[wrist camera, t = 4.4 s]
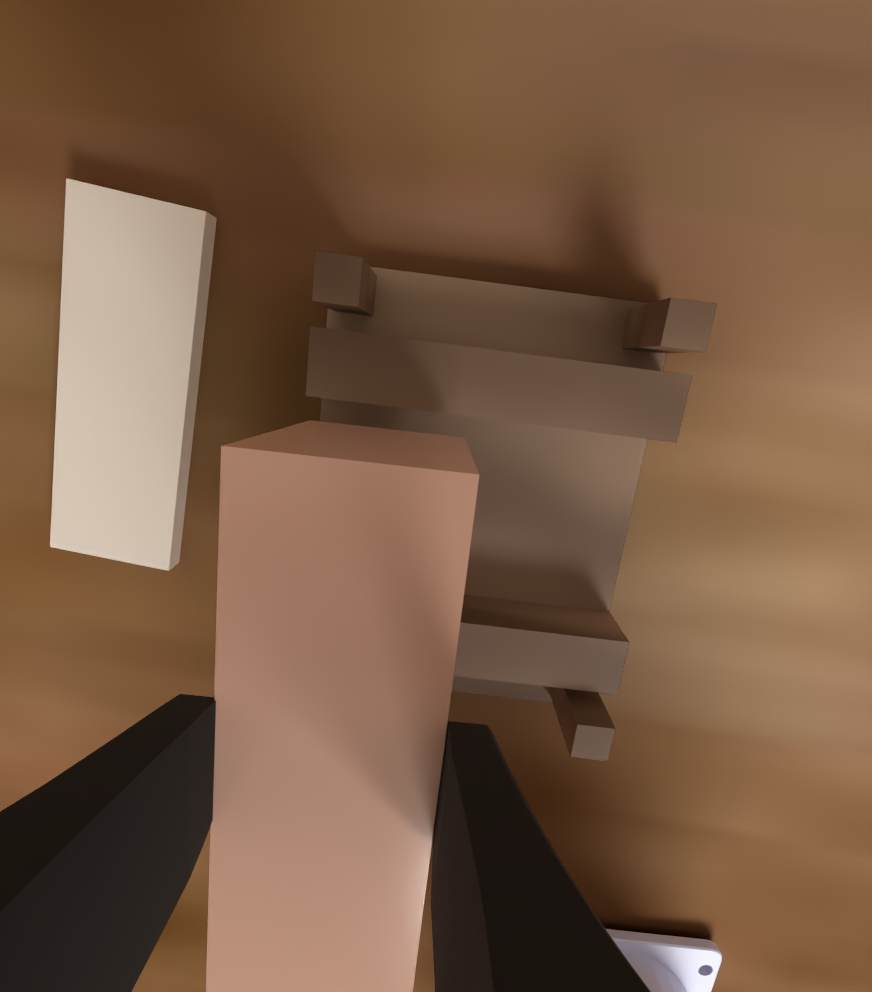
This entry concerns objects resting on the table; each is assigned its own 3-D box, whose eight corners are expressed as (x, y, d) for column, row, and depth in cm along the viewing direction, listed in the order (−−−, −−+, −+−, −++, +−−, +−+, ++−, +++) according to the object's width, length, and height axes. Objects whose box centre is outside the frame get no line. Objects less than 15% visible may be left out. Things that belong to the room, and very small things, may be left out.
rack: (581, 691, 18) (613, 767, 14) (308, 660, 17) (277, 730, 14) (664, 309, 15) (728, 294, 11) (336, 266, 15) (306, 239, 11)
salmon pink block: (418, 813, 14) (406, 1038, 9) (286, 799, 14) (205, 1019, 9) (464, 437, 12) (479, 473, 7) (310, 420, 12) (221, 446, 7)
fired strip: (186, 556, 17) (168, 570, 16) (76, 533, 17) (50, 546, 16) (224, 222, 15) (205, 211, 14) (95, 192, 15) (66, 178, 13)
